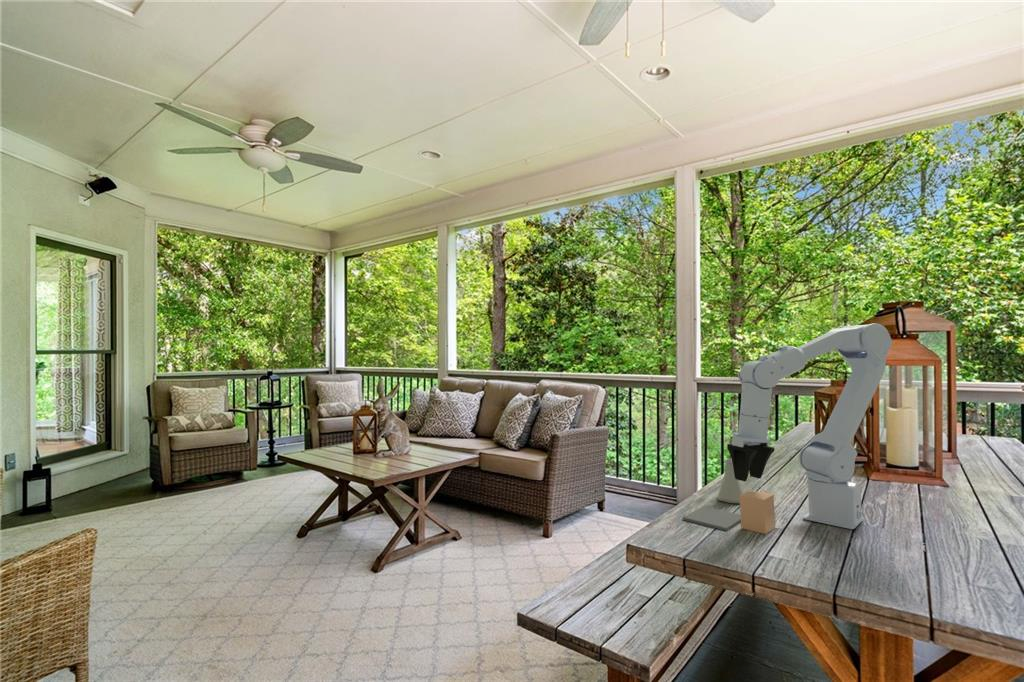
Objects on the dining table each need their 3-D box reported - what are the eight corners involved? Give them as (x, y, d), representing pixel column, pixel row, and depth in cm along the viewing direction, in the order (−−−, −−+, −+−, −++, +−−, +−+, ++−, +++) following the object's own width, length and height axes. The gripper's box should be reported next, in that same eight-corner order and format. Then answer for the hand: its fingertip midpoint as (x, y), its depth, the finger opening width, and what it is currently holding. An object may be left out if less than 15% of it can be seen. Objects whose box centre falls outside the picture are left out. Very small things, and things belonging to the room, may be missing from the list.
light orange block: (775, 527, 102) (773, 494, 103) (765, 534, 99) (764, 499, 99) (750, 521, 106) (749, 489, 106) (741, 528, 103) (739, 495, 103)
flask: (744, 506, 116) (743, 464, 117) (713, 501, 121) (711, 461, 121) (751, 498, 122) (749, 458, 122) (721, 494, 127) (719, 455, 127)
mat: (746, 518, 108) (746, 515, 108) (726, 530, 102) (726, 528, 102) (703, 508, 116) (703, 506, 116) (682, 519, 109) (682, 517, 109)
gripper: (749, 413, 113) (743, 471, 112) (720, 412, 103) (714, 476, 103) (781, 418, 107) (776, 479, 107) (755, 418, 98) (748, 485, 97)
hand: (748, 478), depth 104 cm, fingers open, 7 cm apart
